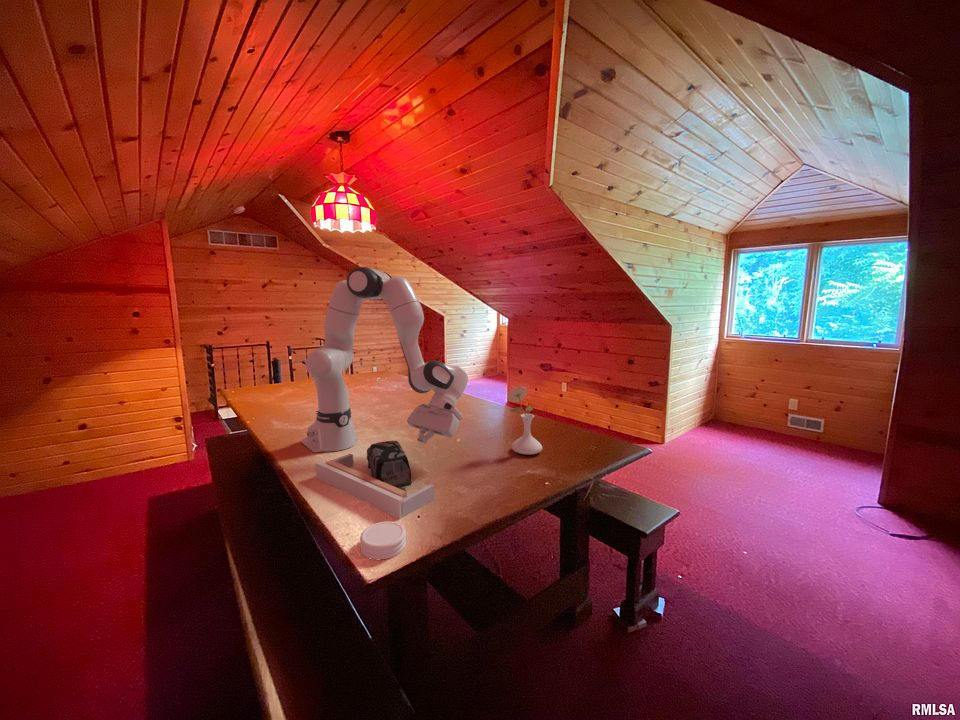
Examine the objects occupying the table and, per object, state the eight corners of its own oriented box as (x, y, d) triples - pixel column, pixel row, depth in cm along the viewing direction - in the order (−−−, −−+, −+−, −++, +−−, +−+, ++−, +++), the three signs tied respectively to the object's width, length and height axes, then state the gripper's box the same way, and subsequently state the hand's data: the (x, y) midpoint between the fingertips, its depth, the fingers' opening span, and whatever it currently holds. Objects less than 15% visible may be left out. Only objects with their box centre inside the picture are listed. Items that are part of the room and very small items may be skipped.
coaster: (351, 548, 87) (351, 533, 86) (388, 529, 94) (388, 515, 94) (377, 568, 80) (376, 552, 80) (415, 545, 88) (414, 531, 87)
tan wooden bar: (326, 477, 122) (325, 462, 121) (332, 474, 123) (331, 460, 123) (401, 512, 101) (400, 494, 100) (407, 509, 103) (406, 491, 102)
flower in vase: (539, 445, 149) (540, 382, 145) (545, 457, 137) (546, 388, 134) (505, 446, 148) (506, 382, 145) (508, 457, 137) (509, 389, 133)
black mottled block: (397, 459, 136) (396, 432, 135) (413, 490, 114) (412, 457, 112) (366, 464, 132) (364, 436, 131) (376, 497, 110) (374, 463, 108)
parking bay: (316, 477, 121) (315, 462, 121) (350, 464, 131) (350, 450, 130) (400, 518, 98) (399, 500, 97) (434, 499, 108) (433, 482, 107)
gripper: (415, 398, 140) (395, 431, 134) (458, 407, 128) (438, 444, 122) (424, 407, 144) (405, 439, 138) (466, 417, 132) (447, 453, 126)
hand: (421, 441), depth 130 cm, fingers closed
